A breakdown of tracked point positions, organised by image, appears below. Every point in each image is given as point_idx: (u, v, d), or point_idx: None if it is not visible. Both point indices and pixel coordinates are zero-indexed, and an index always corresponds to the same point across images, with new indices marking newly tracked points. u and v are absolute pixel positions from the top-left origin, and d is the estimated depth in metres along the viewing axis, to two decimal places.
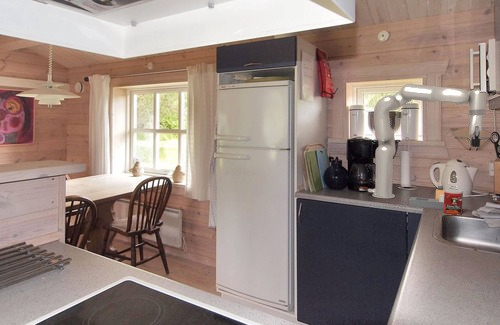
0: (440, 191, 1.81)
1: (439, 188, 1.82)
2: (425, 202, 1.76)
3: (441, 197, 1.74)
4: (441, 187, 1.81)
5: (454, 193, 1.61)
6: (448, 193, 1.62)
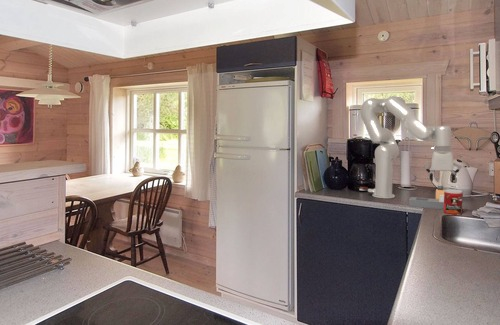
0: (440, 191, 1.81)
1: (439, 188, 1.82)
2: (425, 202, 1.76)
3: (441, 197, 1.74)
4: (441, 187, 1.81)
5: (454, 193, 1.61)
6: (448, 193, 1.62)
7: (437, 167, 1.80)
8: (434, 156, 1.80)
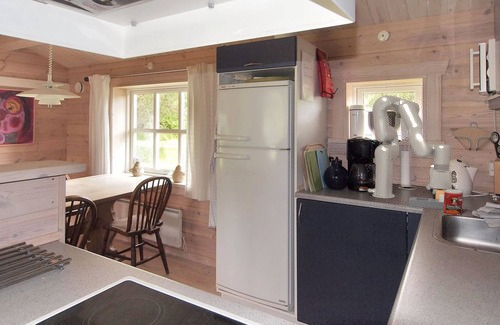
0: (440, 191, 1.81)
1: None
2: (425, 202, 1.76)
3: (441, 197, 1.74)
4: None
5: (454, 193, 1.61)
6: (448, 193, 1.62)
7: (435, 185, 1.81)
8: (433, 174, 1.82)
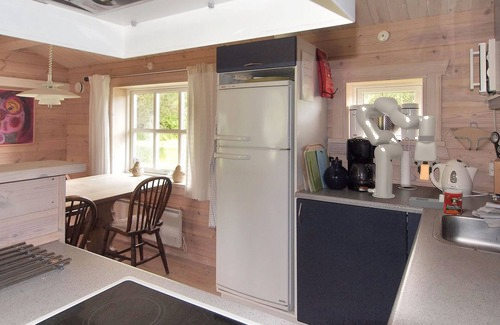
0: (425, 165, 1.79)
1: (424, 162, 1.80)
2: (425, 202, 1.76)
3: (441, 197, 1.74)
4: (426, 161, 1.79)
5: (454, 193, 1.61)
6: (448, 193, 1.62)
7: (420, 157, 1.77)
8: (417, 146, 1.77)
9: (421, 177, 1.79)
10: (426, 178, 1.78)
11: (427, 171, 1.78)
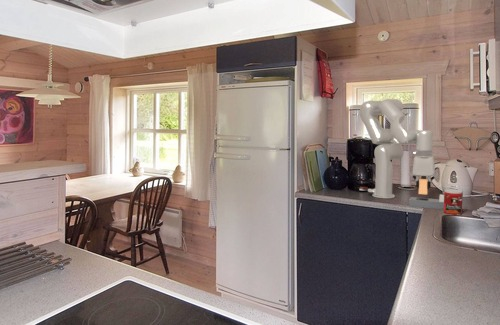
0: (423, 180, 1.79)
1: (422, 177, 1.80)
2: (425, 202, 1.76)
3: (441, 197, 1.74)
4: (424, 176, 1.80)
5: (454, 193, 1.61)
6: (448, 193, 1.62)
7: (418, 172, 1.77)
8: (415, 161, 1.78)
9: (420, 192, 1.79)
10: (425, 193, 1.78)
11: (425, 186, 1.78)
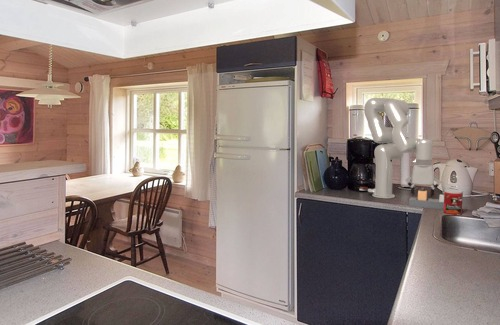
0: (422, 192, 1.78)
1: (421, 189, 1.79)
2: (425, 202, 1.76)
3: (441, 197, 1.74)
4: (423, 188, 1.79)
5: (454, 193, 1.61)
6: (448, 193, 1.62)
7: (417, 181, 1.78)
8: (415, 169, 1.79)
9: None
10: None
11: (424, 198, 1.78)
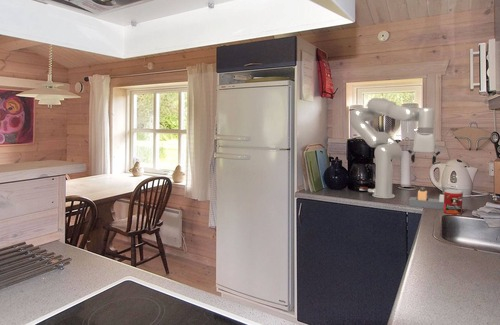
0: (422, 192, 1.78)
1: (421, 189, 1.79)
2: (425, 202, 1.76)
3: (441, 197, 1.74)
4: (423, 188, 1.79)
5: (454, 193, 1.61)
6: (448, 193, 1.62)
7: (418, 148, 1.81)
8: (416, 137, 1.81)
9: None
10: None
11: (424, 198, 1.78)
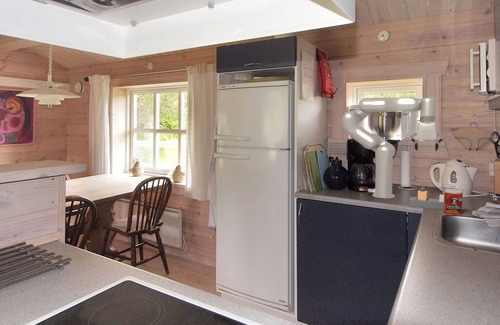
0: (422, 192, 1.78)
1: (421, 189, 1.79)
2: (425, 202, 1.76)
3: (441, 197, 1.74)
4: (423, 188, 1.79)
5: (454, 193, 1.61)
6: (448, 193, 1.62)
7: (422, 137, 1.90)
8: (419, 126, 1.90)
9: None
10: None
11: (424, 198, 1.78)
